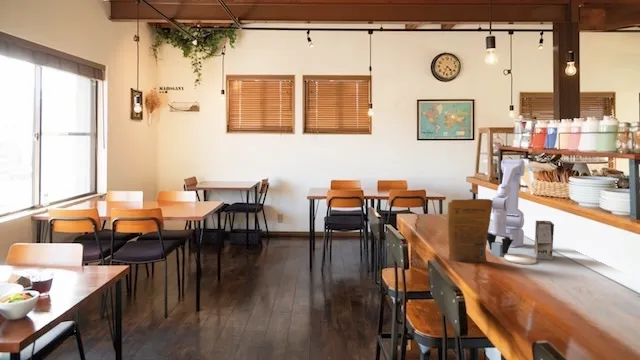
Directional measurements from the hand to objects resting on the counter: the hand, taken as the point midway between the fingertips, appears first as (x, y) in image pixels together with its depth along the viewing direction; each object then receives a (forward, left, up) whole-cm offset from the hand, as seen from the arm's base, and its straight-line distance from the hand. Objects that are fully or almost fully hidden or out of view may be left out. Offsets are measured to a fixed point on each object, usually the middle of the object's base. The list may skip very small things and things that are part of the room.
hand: (498, 251), depth 196 cm
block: (0, 0, -2) cm, 2 cm away
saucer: (0, +11, -1) cm, 11 cm away
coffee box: (-14, +13, -2) cm, 19 cm away
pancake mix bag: (+21, 0, -2) cm, 21 cm away
